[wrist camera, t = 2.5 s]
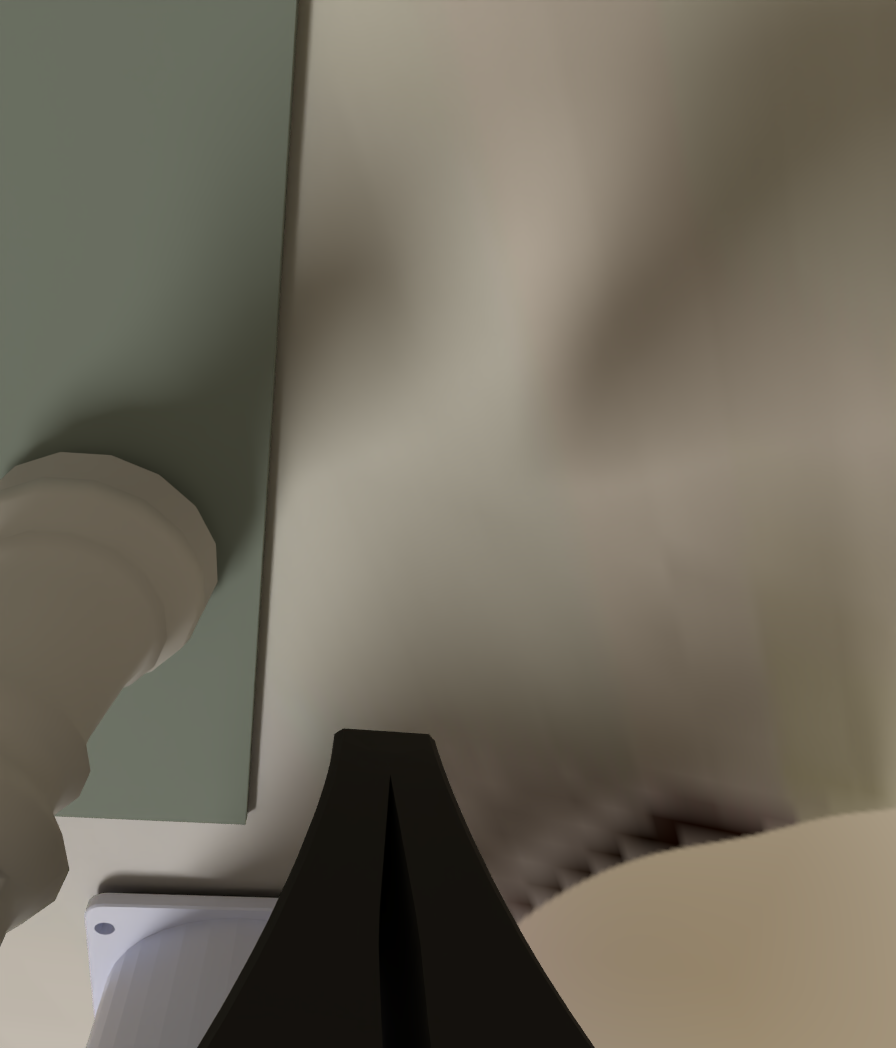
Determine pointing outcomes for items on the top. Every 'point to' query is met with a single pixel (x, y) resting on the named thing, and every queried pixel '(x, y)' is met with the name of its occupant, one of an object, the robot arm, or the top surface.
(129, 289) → the mat
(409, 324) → the top surface
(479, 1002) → the robot arm
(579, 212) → the top surface
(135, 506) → the rook chess piece
